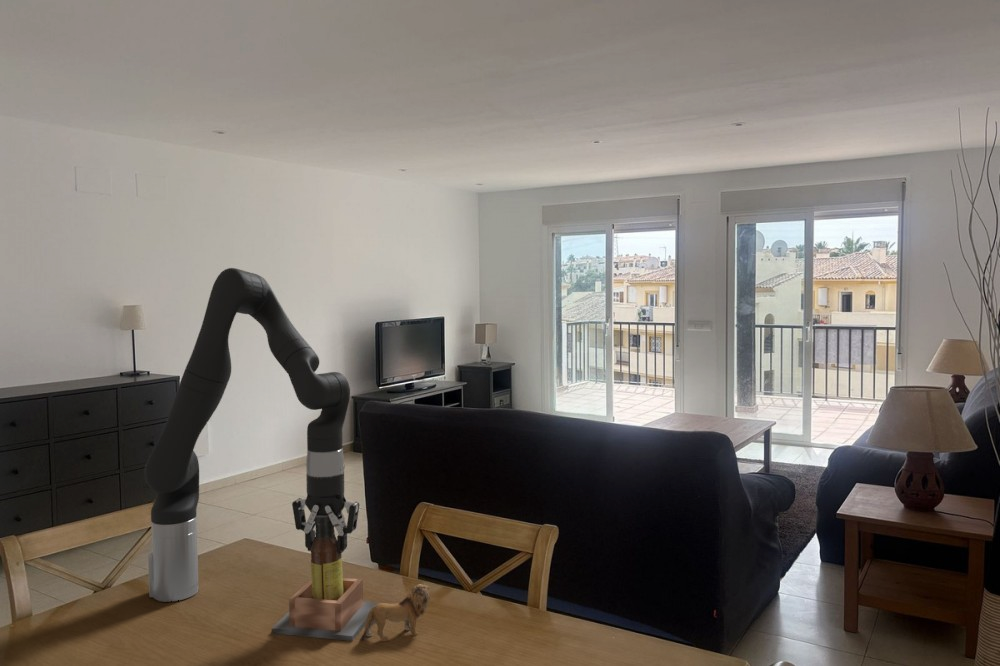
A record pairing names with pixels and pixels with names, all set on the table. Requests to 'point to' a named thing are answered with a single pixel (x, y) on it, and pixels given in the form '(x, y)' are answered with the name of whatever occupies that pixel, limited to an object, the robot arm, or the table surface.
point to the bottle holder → (326, 613)
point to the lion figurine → (399, 612)
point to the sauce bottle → (326, 562)
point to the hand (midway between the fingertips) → (326, 550)
